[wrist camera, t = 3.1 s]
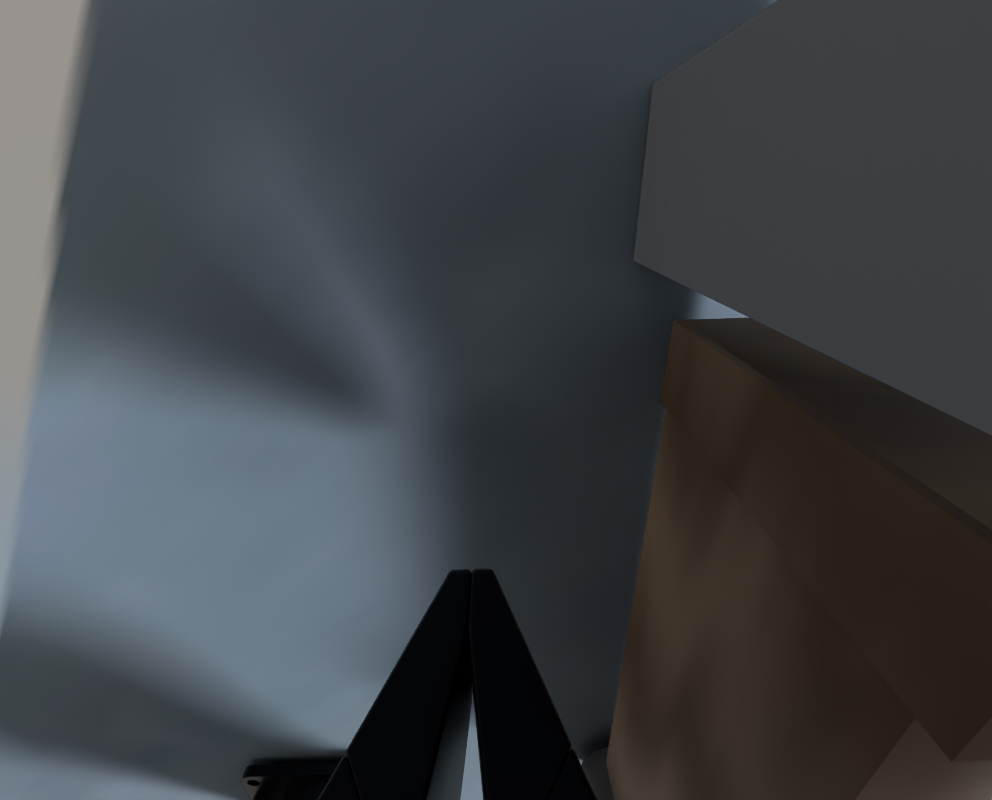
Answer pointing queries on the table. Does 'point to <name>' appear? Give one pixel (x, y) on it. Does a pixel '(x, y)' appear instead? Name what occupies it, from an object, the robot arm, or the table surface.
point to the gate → (805, 587)
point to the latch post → (838, 186)
